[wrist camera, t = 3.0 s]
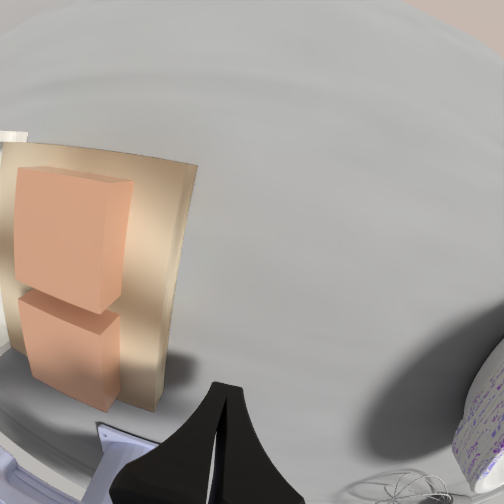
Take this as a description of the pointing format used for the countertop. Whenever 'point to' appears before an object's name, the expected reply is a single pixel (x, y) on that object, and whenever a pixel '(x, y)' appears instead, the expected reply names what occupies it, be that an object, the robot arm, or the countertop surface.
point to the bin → (0, 333)
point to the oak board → (135, 255)
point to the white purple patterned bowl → (483, 427)
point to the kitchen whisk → (443, 503)
